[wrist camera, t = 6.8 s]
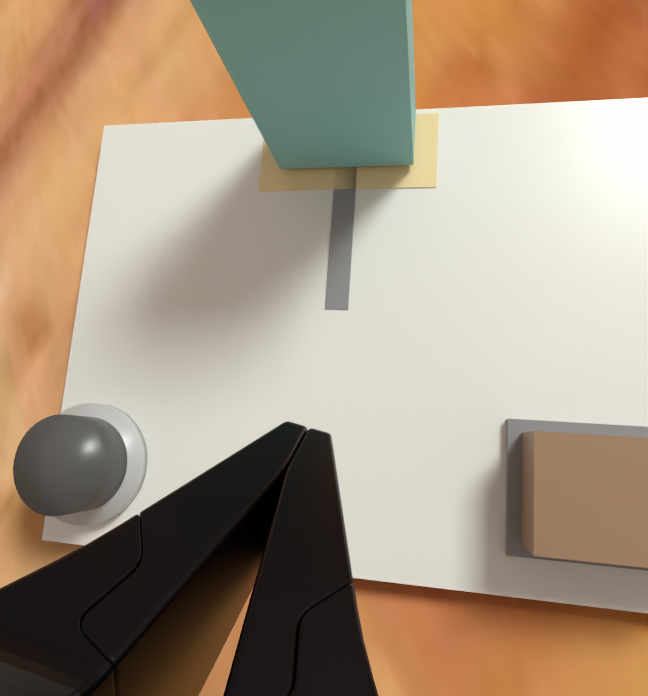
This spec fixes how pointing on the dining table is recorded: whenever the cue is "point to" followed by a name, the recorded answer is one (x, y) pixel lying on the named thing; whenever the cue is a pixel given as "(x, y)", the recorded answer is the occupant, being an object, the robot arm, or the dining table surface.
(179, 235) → the console
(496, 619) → the dining table surface
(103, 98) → the dining table surface
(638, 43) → the dining table surface
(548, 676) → the dining table surface
